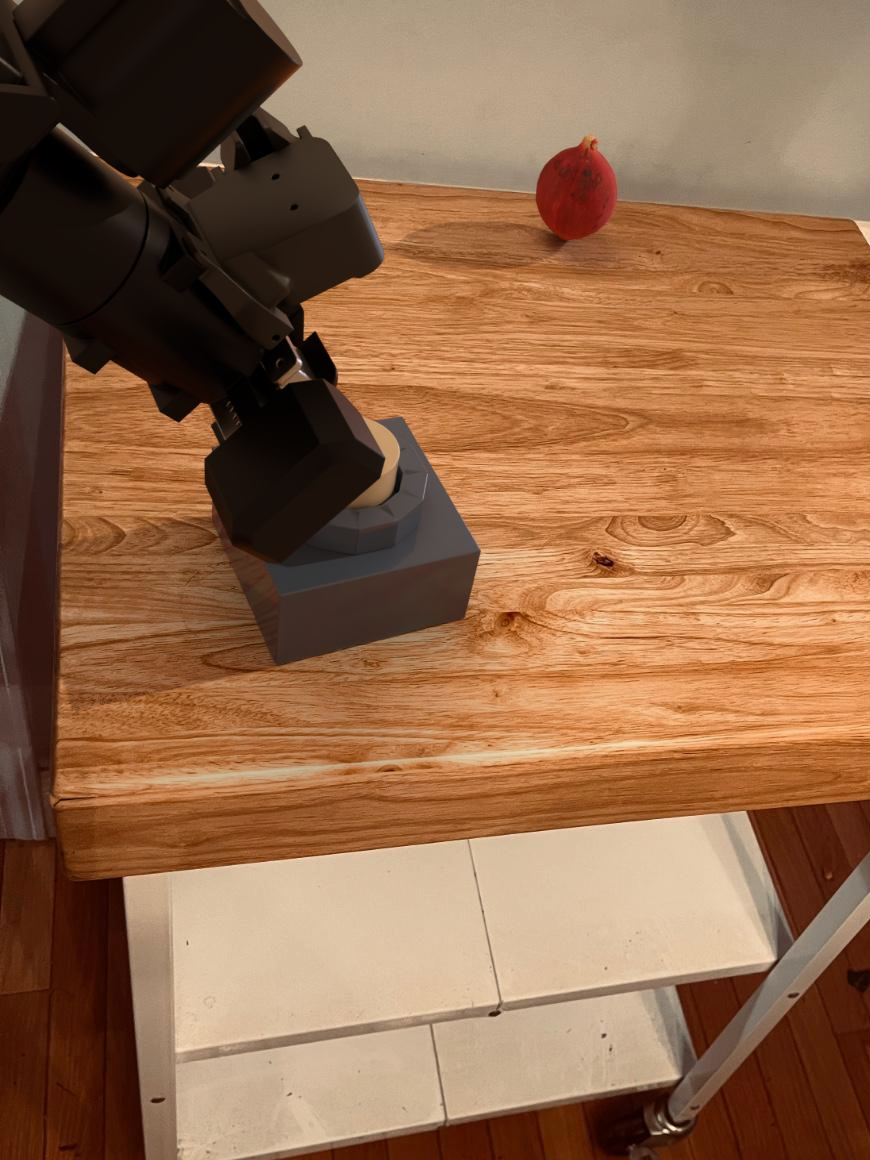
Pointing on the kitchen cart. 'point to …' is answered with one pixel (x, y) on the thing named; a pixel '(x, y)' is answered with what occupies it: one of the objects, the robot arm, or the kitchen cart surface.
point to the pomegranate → (577, 191)
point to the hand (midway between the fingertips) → (358, 436)
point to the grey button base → (365, 568)
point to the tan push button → (389, 472)
